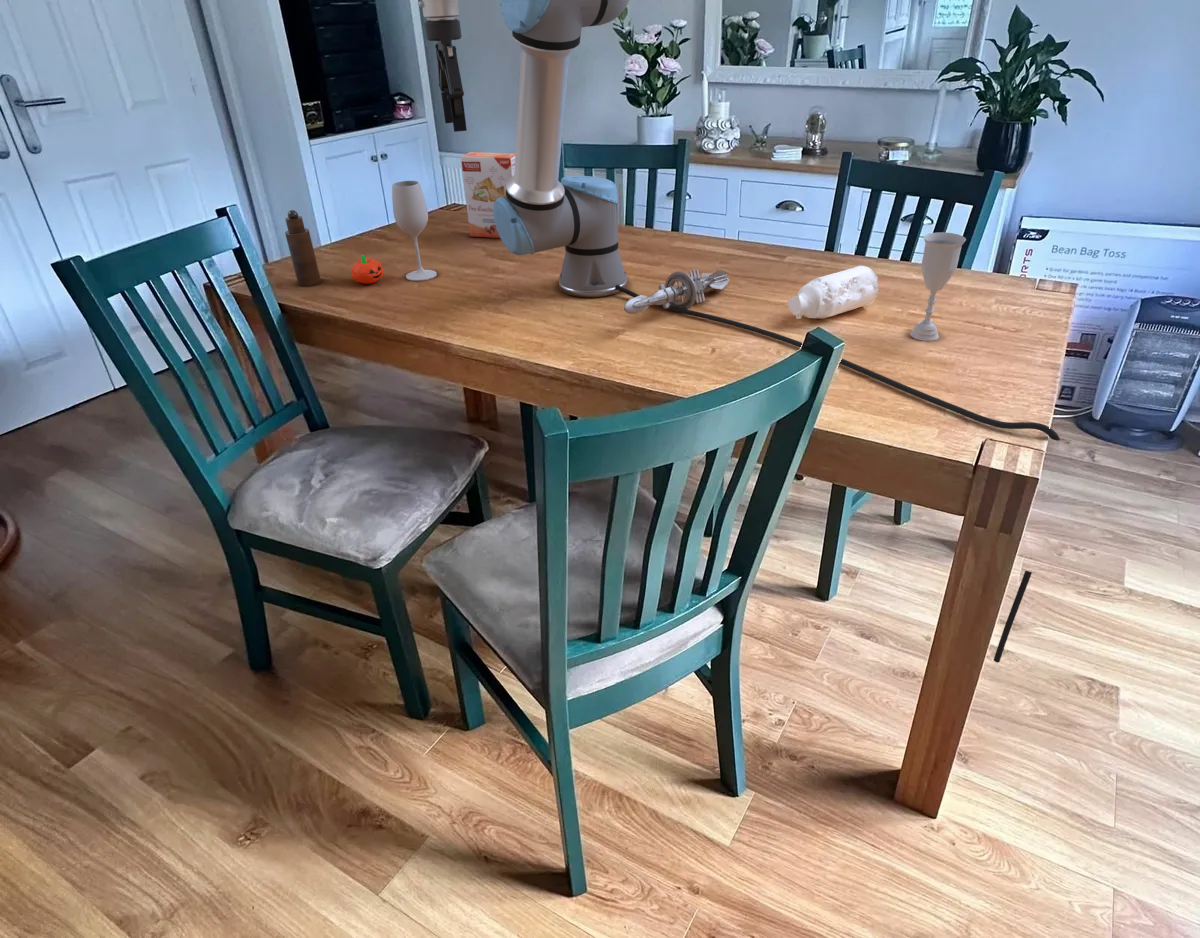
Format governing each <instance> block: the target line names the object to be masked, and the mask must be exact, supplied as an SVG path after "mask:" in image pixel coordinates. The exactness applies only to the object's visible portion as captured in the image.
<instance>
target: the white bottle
mask: <svg viewBox="0 0 1200 938" xmlns="http://www.w3.org/2000/svg"><path fill="white" fill-rule="evenodd" d="M878 278H879V276H878V274H876V272H875V271H874V270H873V269H871V267H868V266H867V265H857V266H855V267H851V268H848V269H844V270H840V271H838V272H834V273H830V274H827V275H822V276H820V277H816V278H814V279H811V280H810V281H809V282H807V283H806V284H804V285H803V286H802V287H801V288H800V289H799V290H798V292H797V294H796V295H793V296H791V297H790V299H788V300H787V307H788V309H789V310H788V311H789V312H791V313H792V314H793V316H795V319H796V320H801V319H802V317H803V316H804V317H805V318H808V319H818V320H819V319H820V320H822V319H826V318H831V317H834V316H837V315H840V314H843V313H847V312H850V311H853V310H856V309H858V308H862V307H865V306H866V307H867V306H869V305H871V304H872V303H874V301H875V300H877V298H878V295H879V293H880V290H879V289H880V284H879V282H878Z"/></svg>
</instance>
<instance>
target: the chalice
mask: <svg viewBox="0 0 1200 938" xmlns="http://www.w3.org/2000/svg"><path fill="white" fill-rule="evenodd" d="M923 240H924V248H923V254H922V257H921V263H920V265H921V272H922V278H923V281H924V284H925V288H926V289H927V290H929V291H930V294H929V297H928V298H927V299H926V301H927V306H926V308H925V309H924V312H925V317H924V319H923V320H920V321H918V322H917V323H916V324H915V326H914V327H913V329H912V330H911V331H910V333H909V336H910V337H911V338H913V339H915V340H919V341H922V342H923V341H924V342H932V341H936V340H938V339H939V338H940V336H939V331H938V326H937V324H936V323H935V322H933V320H932V315H933V314H934V313H935V309H934V305H935V303H936V302H937V299H936V294H937V292H938V291H942V290H943V289H944V288H945V287H946V285H947V283H948V282H949V281H950V280H951V278H952V276H953V275H954V273H955V271H956V270H957V267H958V264H959V260H960V255H961V250H962V246H963V245H964V244H965V242H966V241H967V238H966V237H965V236H963V235H961V234H958V233H955V232H943V231H941V232H940V231H939V232H930V233H927V234H924V236H923Z"/></svg>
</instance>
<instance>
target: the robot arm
mask: <svg viewBox="0 0 1200 938" xmlns="http://www.w3.org/2000/svg"><path fill="white" fill-rule="evenodd" d="M629 3H630V0H499V5H500V6H501V10H500V11H501V16H502V20H503V21H504V24H505V26H507V28H508V29H509V30H510V31H511V37H512V39H513V40H514V41H515V43H516V44H517V45H518V46H519V48H520V50H519V68H518V70H519V71H518V90H517V92H518V93H517V110H516V111H517V112H516V130H515V131H516V132H515V151H514V153H515V169H514V176H513V177H511V178H510V179H509V180H508V181H507V183H506V195H505V197H500V198H498V199H497V200H496V201H495V202H494V206H493V214H494V220H495V224H496V228H497V231H498V233H499V236H500V238H499V239H500V240H501V242H502V243H503V245H504V247H505V248H506V249H507V251H509V252H510V253H511V254H512V255H515V256H524V255H534V254H536V253H540V252H544V251H549V250H553V249H558V248H561V247H562V248H563V247H564V249H565V251H564V252H565V253H564V257H563V262H562V266H561V271H560V274H559V278H558V286H559V287H558V288H559V290H560V292H562V293H564V294H566V295H569V296H573V297H577V298H578V297H579V298H603V297H608V296H613V295H616V294H618V293H620V292H622V293H623V294H626V295H628V296H630V297H631V298H633V297H637V296H641V295H640V294H638V293H636V292H635V291H632V290H630V289H629V288H628V274H627V271H626V270H625V267H624V265H623V260H622V256H621V253H620V251H619V249H620V248H619V211H618V210H619V208H618V207H619V206H618V205H619V198H618V190H617V189H618V188H617V186H616V183H614V182H613V181H612V180H610V179H607V178H604V177H599V176H591V175H566V176H563V177H562V178H561V179H560V181H559V176H560V174H559V173H560V165H561V154H562V145H563V133H564V122H565V112H566V111H565V110H566V99H567V91H568V80H569V70H570V69H569V67H570V59H571V58H570V57H571V55H572V53H573V52H574V51H575V50H577V49H578V48H579V47H580V44H581V36H582V28H587V27H596V26H597V27H598V26H602V25H606V24H608V23H610V22H612V21H614V20H616V19H617V18H618V17H620V15H621V14H622V13H623V12H624V11H625V9H626V8H627V6H628V4H629ZM418 6H419V7H420V8H422V14H423V17H424V18H425V19H426V20H425V21H424V30H425V38H426V40H427V41H428V42H437V43H435V45H434V47H435V55H436V63H437V64H436V65H437V74H438V77H437V78H438V87H439V90H440V92H441V93H440V95H441V102H442V110H443V116H444V117H443V118H444V123H445V124H452V125H453V126H452V127H453V132H454V133H455V132H456V133H457V132H467V131H468V130H467V121H466V112H465V104H464V99H463V97H464V96H465V91H464V87H463V82H462V77H461V71H460V65H459V61H458V53H457V47H456V45H453V43H452V41H457V40H461V39H462V29H461V21H460V20H459V18H457V17H459V16H460V10H459V1H458V0H421V1H420V0H419V2H418ZM652 306H654V307H657V308H660V309H664V310H668V311H671V312H675V313H680V314H683V315H688V316H693V317H697V318H701V319H705V320H709V321H714V322H717V323H720V324H725V325H729V326H732V327H735V328H740V329H743V330H747V331H750V332H753V333H757V334H759V335H763V336H766V337H769V338H772V339H775V340H778V341H781V342H783V343H786V344H789V345H791V346H794V347H797V348H800V347H801V345H802V343H803V342H801V341H799V340H796V339H793V338H791V337H788V336H786V335H782V334H779V333H777V332H772V331H770V330H767V329H764V328H761V327H760V328H759V327H756V326H754V325H750V324H747V323H743V322H740V321H737V320H732V319H730V318H729V319H728V318H724V317H721V316H718V315H713V314H710V313H709V314H708V313H705V312H700V311H697V310H691V309H688V310H687V309H683V308H679V307H675V306H671V305H670V304H669V308H666V309H665V308H664V307H663V304H662V305H652ZM839 364H840V365H841V366H845V367H847V368H849V369H851V370H854V371H856V372H858V373H861V374H862V375H866V376H868V377H870V378H872V379H875V380H877V381H879V382H881V383H884V384H886V385H888V386H890V387H893V388H895V389H898V390H900V391H903V392H905V393H907V394H910V395H912V396H914V397H916V398H919V399H921V400H923V401H926V402H929V403H931V404H933V405H936V406H939V407H941V408H943V409H946V410H949V411H952V412H954V413H956V414H959V415H962V416H964V417H966V418H968V419H970V420H973V421H976V422H979V423H981V424H985V425H988V426H991V427H994V428H999V429H1005V430H1036V431H1040V432H1042V433H1044V434H1046V435H1047V436H1048V437H1049V438H1050V439H1051V440H1053V441H1056V442H1057V441H1058V442H1059V441H1061V438H1060V436H1059V435H1058V433H1057V432H1056V431H1055V430H1054V429H1053V428H1051V427H1050V426H1048V425H1047V424H1044V423H1041V422H1032V421H1020V422H1018V421H1017V422H1011V421H1001V420H997V419H993V418H990V417H987V416H984V415H981V414H979V413H976V412H973V411H971V410H968V409H966V408H964V407H960V406H958V405H956V404H953V403H951V402H948V401H945V400H943V399H940V398H938V397H935V396H932V395H931V394H927V393H925V392H923V391H920V390H918V389H915V388H913V387H911V386H908V385H905V384H903V383H901V382H898V381H896V380H894V379H892V378H889V377H887V376H884V375H883V374H881V373H878V372H875V371H873V370H870V369H868V368H866V367H863V366H862V365H859V364H856V363H854V362H852V361H849V360H848V359H845V358H842V360H841V362H840V363H839ZM1049 427H1050V429H1049ZM1032 574H1033V572H1032V571H1029V570H1025V571H1024V573H1023V576H1022V579H1021V582H1020V584H1019V586H1018V589H1017V592H1016V595H1015V597H1014V600H1013V603H1012V605H1011V608H1010V611H1009V613H1008V617H1007V619H1006V622H1005V625H1004V627H1003V630H1002V633H1001V636H1000V640H999V642H998V645H997V648H996V651H995V655H994V658H993V662H995V663H1000V662H1001V658H1002V656H1003V653H1004V650H1005V648H1006V647H1005V646H1006V643H1007V641H1008V638H1009V635H1010V633H1011V629H1012V627H1013V624H1014V621H1015V618H1016V616H1017V613H1018V610H1019V608H1020V605H1021V603H1022V600H1023V597H1024V595H1025V592H1026V590H1027V587H1028V585H1029V582H1030V579H1031V576H1032Z"/></svg>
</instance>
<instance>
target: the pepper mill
mask: <svg viewBox="0 0 1200 938" xmlns="http://www.w3.org/2000/svg"><path fill="white" fill-rule="evenodd" d="M284 219H285V224H286V228H287V230H286V231H284V235H285V239H286V242H287V246H288V250H289V253H290V258H291V261H292V266H293V269H294V273H295V277H296V281H297V285H298V286H300V287H312V286H317V285H318V284H320V283H322V278H321V275H320V270H319V266H318V262H317V257H316V253H315V250H314V246H313V242H312V237H311V233H310V229H309V228H306V227H305V223H304V220H303V216H301V215H299V213H298V211H296V210H294V209H290V210H289V211H288V212H287V217H285V218H284Z"/></svg>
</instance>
